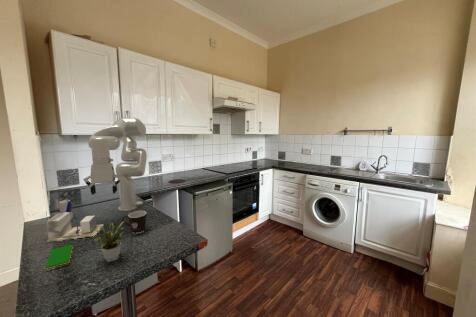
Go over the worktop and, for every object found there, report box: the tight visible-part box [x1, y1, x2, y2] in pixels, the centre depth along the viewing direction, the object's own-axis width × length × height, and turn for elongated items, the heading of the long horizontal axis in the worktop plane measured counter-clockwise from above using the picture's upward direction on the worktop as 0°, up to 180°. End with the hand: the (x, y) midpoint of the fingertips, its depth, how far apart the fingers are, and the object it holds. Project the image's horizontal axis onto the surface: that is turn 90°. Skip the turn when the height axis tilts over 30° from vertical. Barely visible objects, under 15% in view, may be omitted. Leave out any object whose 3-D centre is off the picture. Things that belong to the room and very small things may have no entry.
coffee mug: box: [121, 210, 147, 233], centre depth 107 cm, size 12×9×10 cm
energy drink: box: [58, 199, 74, 221], centre depth 118 cm, size 5×5×12 cm
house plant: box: [92, 220, 126, 259], centre depth 84 cm, size 14×14×16 cm
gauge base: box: [46, 212, 104, 243], centre depth 104 cm, size 20×12×10 cm, turn 105°
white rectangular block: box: [79, 215, 98, 234], centre depth 105 cm, size 4×10×6 cm, turn 15°
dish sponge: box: [45, 244, 74, 270], centre depth 85 cm, size 7×14×2 cm, turn 35°
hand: (104, 193), depth 106 cm, fingers open, 9 cm apart
